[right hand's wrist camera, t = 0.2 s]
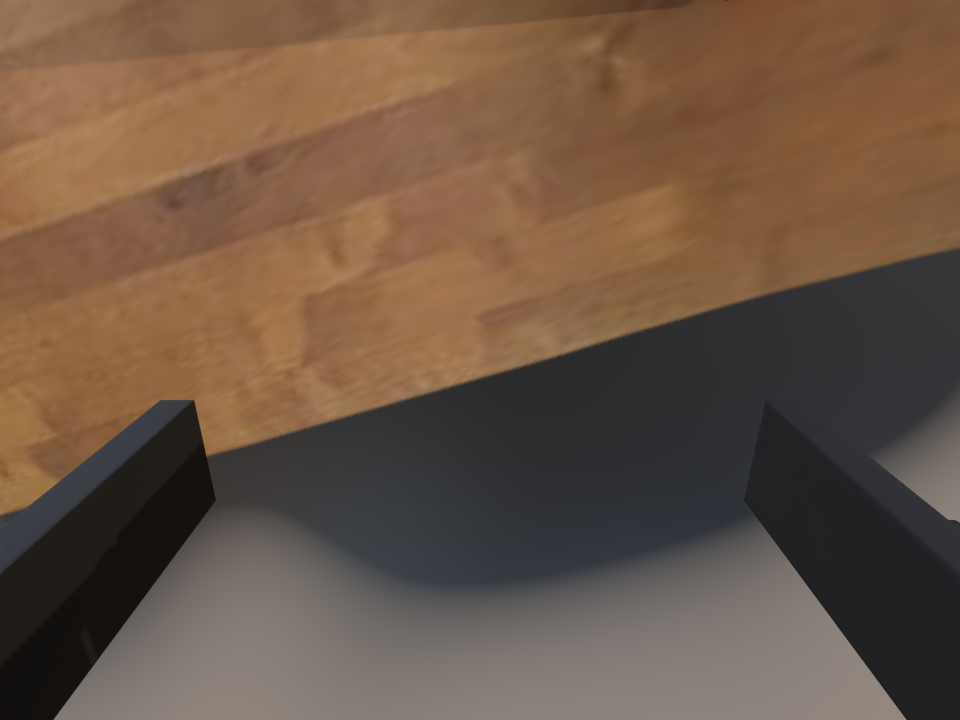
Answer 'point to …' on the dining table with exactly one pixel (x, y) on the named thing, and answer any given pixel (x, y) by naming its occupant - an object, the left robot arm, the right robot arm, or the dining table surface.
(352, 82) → the dining table surface
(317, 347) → the dining table surface
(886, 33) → the dining table surface
